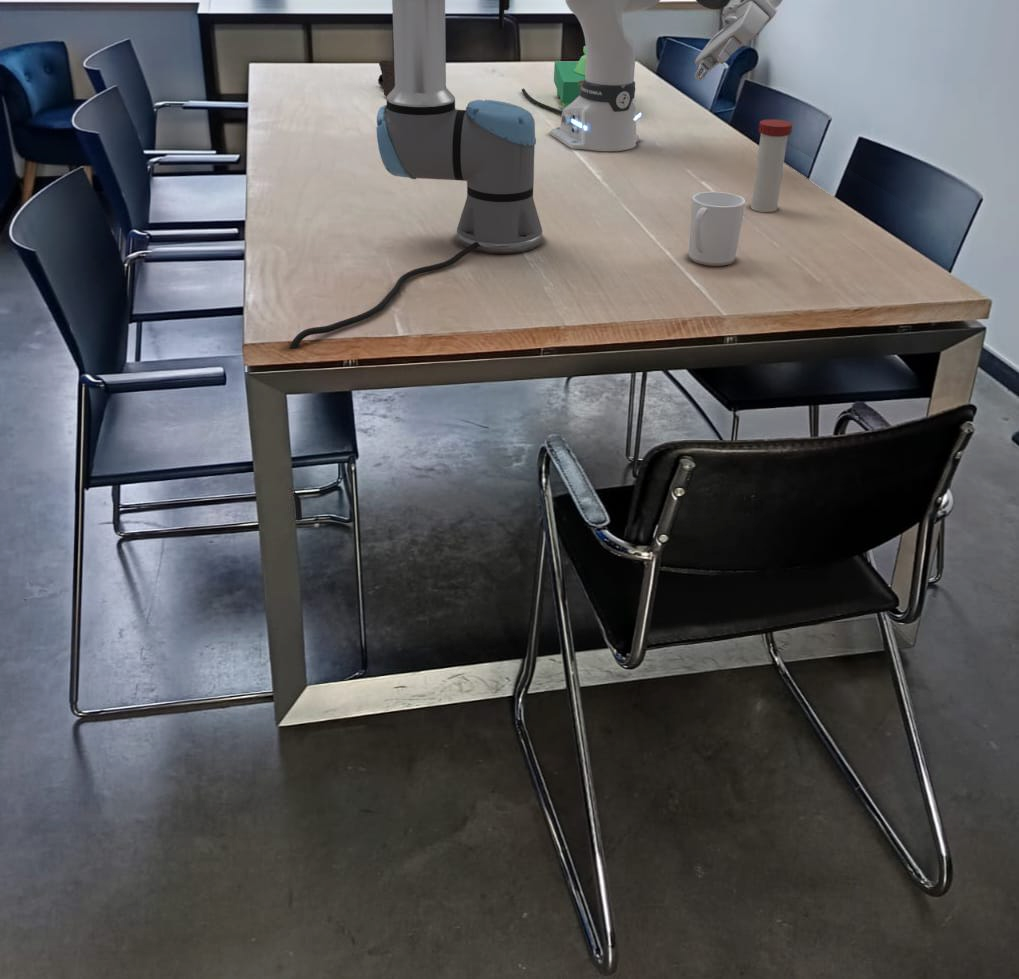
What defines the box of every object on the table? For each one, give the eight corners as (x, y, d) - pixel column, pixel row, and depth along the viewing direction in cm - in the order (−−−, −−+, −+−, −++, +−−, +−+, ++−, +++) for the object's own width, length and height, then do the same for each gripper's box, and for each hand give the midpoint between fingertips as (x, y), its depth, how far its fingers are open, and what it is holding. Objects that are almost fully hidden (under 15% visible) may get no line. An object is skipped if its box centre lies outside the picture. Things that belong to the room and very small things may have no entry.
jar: (774, 213, 213) (787, 129, 204) (748, 210, 214) (760, 126, 206) (778, 206, 217) (790, 123, 208) (753, 203, 218) (764, 121, 210)
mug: (702, 245, 195) (709, 188, 190) (747, 257, 190) (755, 198, 185) (669, 261, 188) (675, 202, 182) (714, 274, 183) (722, 213, 177)
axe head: (443, 87, 294) (392, 77, 287) (436, 115, 299) (385, 106, 292) (421, 62, 307) (371, 52, 300) (414, 89, 311) (365, 80, 304)
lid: (788, 137, 204) (790, 128, 204) (755, 134, 206) (757, 124, 205) (793, 130, 209) (794, 121, 208) (760, 126, 211) (762, 117, 210)
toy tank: (616, 42, 301) (635, 67, 272) (613, 89, 308) (630, 118, 278) (553, 41, 300) (564, 66, 271) (550, 88, 307) (561, 117, 277)
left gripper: (534, -91, 215) (530, 25, 226) (409, -94, 217) (412, 20, 229) (530, -88, 209) (526, 31, 220) (401, -92, 211) (405, 26, 222)
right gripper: (709, 27, 232) (675, 76, 230) (758, -14, 213) (721, 39, 211) (730, 47, 234) (697, 96, 232) (781, 8, 214) (745, 61, 212)
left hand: (468, 26), depth 224 cm, fingers open, 13 cm apart
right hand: (709, 69), depth 221 cm, fingers open, 8 cm apart
